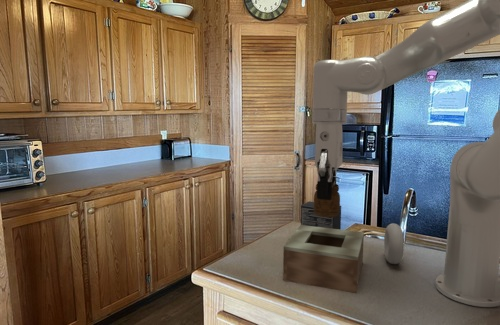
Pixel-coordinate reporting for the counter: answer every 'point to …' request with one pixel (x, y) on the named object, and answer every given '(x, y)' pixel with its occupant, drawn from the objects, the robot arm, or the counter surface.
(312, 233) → the drop box
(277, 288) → the counter surface
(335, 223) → the small box
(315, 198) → the utensil holder
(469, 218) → the robot arm
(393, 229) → the donut
